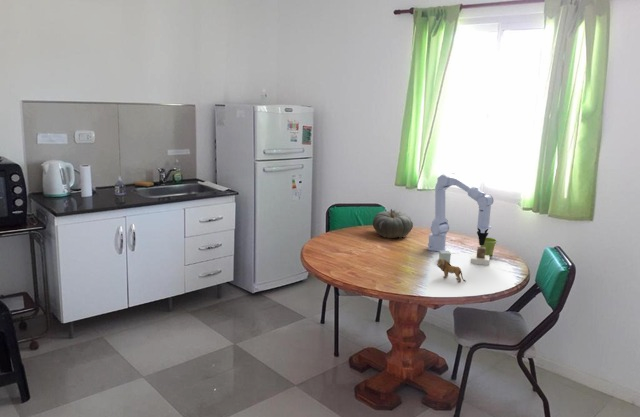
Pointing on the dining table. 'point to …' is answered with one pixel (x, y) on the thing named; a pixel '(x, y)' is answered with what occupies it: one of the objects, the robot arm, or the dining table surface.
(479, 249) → the walnut block
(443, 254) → the grey cube
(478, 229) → the robot arm
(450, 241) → the dining table surface
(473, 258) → the cream block
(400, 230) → the gourd
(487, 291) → the dining table surface
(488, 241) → the plant pot
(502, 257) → the dining table surface
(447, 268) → the lion figurine
